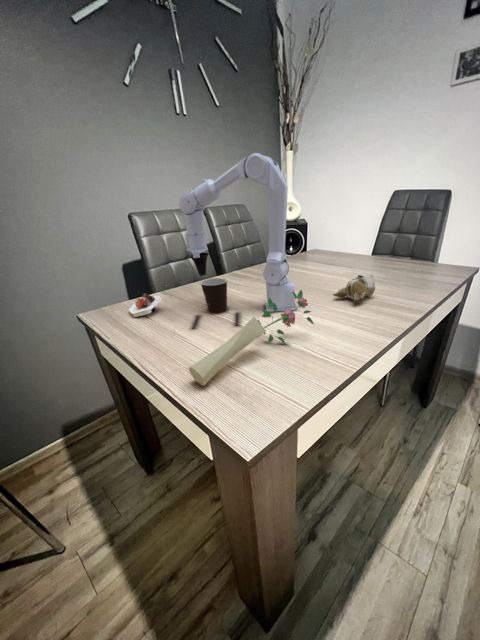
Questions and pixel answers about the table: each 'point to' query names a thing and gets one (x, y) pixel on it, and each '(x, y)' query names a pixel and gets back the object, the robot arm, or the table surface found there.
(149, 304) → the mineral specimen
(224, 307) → the coffee mug
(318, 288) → the table surface
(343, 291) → the ceramic sculpture
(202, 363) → the flower vase
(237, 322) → the guide strips
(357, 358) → the table surface
